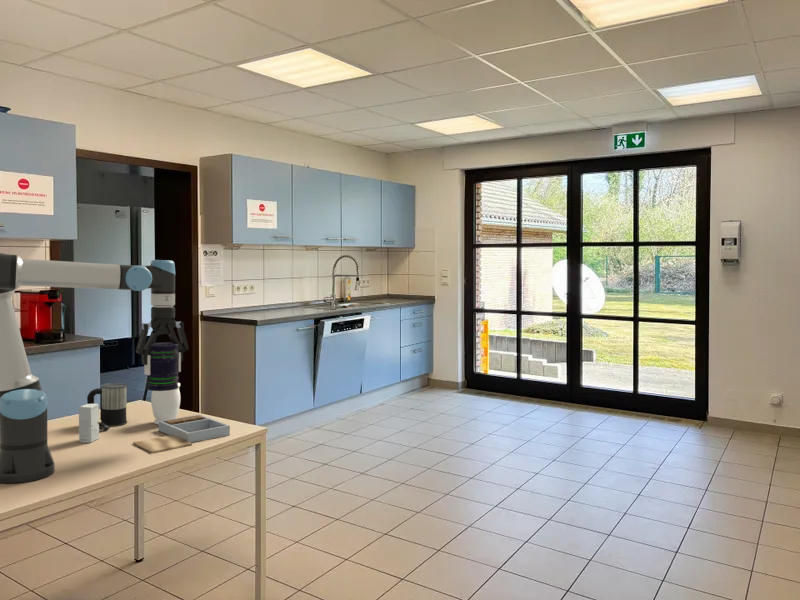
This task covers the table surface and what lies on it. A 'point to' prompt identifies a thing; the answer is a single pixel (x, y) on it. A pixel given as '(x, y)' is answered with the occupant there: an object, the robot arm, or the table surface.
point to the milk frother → (111, 404)
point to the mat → (162, 443)
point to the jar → (165, 404)
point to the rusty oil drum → (163, 367)
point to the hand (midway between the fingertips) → (162, 372)
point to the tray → (185, 429)
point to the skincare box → (88, 423)
